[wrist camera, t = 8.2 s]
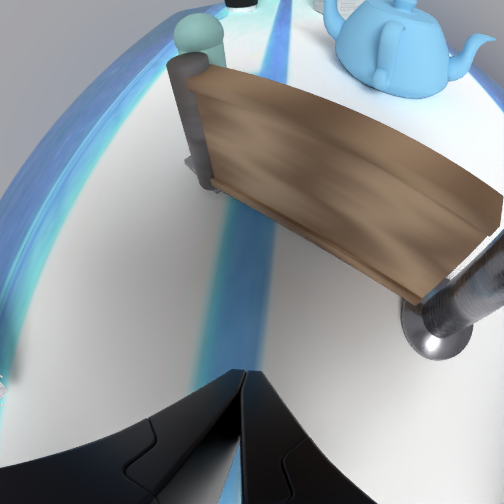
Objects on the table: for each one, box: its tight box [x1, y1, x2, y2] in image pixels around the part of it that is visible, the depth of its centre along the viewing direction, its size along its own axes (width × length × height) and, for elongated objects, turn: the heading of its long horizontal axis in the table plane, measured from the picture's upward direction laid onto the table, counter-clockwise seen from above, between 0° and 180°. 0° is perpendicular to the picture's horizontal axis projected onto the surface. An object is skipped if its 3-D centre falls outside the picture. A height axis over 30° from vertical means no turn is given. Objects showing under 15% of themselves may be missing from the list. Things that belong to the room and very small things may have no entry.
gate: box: [166, 52, 503, 306], centre depth 14 cm, size 16×2×9 cm, turn 53°
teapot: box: [323, 0, 496, 99], centre depth 23 cm, size 15×15×10 cm
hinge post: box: [401, 229, 504, 360], centre depth 10 cm, size 5×5×11 cm
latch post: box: [173, 13, 227, 194], centre depth 17 cm, size 4×4×11 cm
